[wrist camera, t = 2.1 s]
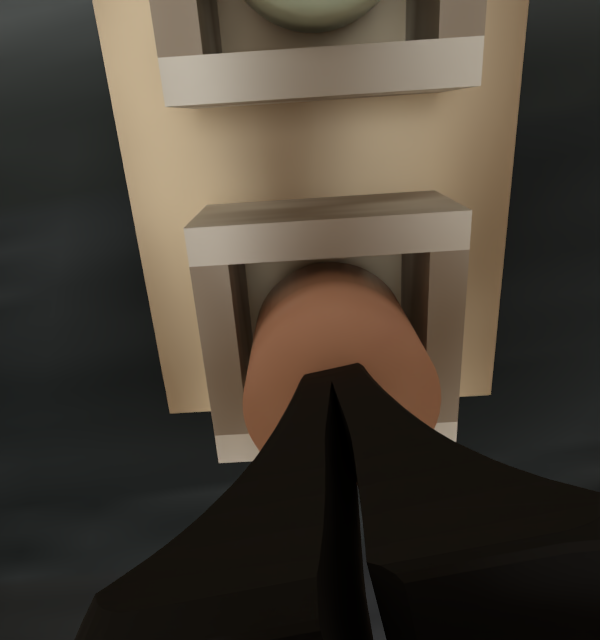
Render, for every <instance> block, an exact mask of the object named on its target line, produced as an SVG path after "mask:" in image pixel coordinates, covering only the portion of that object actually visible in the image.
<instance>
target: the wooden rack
mask: <svg viewBox="0 0 600 640" xmlns="http://www.w3.org/2000/svg"><path fill="white" fill-rule="evenodd" d="M92 1H93V6H94V11H95V17H96V22H97V27H98V33H99V38H100V43H101V49H102V54H103V59H104V65H105V70H106V75H107V81H108V86H109V91H110V97H111V102H112V107H113V113H114V118H115V123H116V129H117V134H118V139H119V145H120V150H121V155H122V160H123V166H124V171H125V176H126V182H127V187H128V192H129V198H130V203H131V208H132V214H133V219H134V224H135V230H136V235H137V240H138V246H139V251H140V256H141V262H142V267H143V272H144V278H145V283H146V288H147V294H148V299H149V304H150V310H151V315H152V320H153V326H154V331H155V336H156V342H157V347H158V352H159V358H160V363H161V368H162V374H163V379H164V384H165V390H166V395H167V400H168V406H169V411H170V413H187V412H204V411H211V415H212V421H213V428H214V434H215V441H216V448H217V454H218V461H219V463H229V462H247V461H253V460H254V459H255V457H256V456H257V455H258V453H259V452H260V451H259V450H258V448H257V447H256V445H255V444H254V442H253V441H252V439H251V437H250V435H249V433H248V430H247V427H246V424H245V420H244V415H243V392H244V386H245V381H246V375H247V370H248V365H249V359H250V354H251V348H252V343H253V338H254V332H255V327H256V322H257V317H258V314H259V310H260V308H261V306H262V303H263V302H264V300H265V298H266V296H267V295H268V294H269V292H270V291H271V290H272V288H273V287H274V286H275V285H276V284H277V283H278V282H279V281H281V280H282V279H283V278H285V277H286V276H287V275H289V274H291V273H292V272H294V271H296V270H298V269H300V268H303V267H306V266H309V265H313V264H316V263H324V262H340V263H348V264H351V265H355V266H358V267H361V268H363V269H366V270H368V271H369V272H371V273H373V274H374V275H376V276H377V277H378V278H380V279H381V280H382V281H383V282H384V283H385V284H386V285H387V286H388V287H389V288H390V289H391V291H392V292H393V293H394V295H395V296H396V298H397V300H398V302H399V304H400V305H401V307H402V309H403V311H404V312H405V314H406V316H407V318H408V320H409V321H410V323H411V325H412V327H413V329H414V330H415V332H416V334H417V336H418V337H419V339H420V341H421V343H422V345H423V346H424V348H425V350H426V352H427V354H428V355H429V357H430V359H431V361H432V363H433V365H434V367H435V369H436V372H437V375H438V378H439V382H440V387H441V407H440V413H439V417H438V420H437V424H436V426H435V428H434V430H436V431H437V432H439V433H441V434H442V435H444V436H446V437H447V438H449V439H451V440H453V441H454V442H456V437H457V422H458V408H459V397H463V396H481V395H491V386H492V376H493V366H494V355H495V345H496V335H497V325H498V314H499V304H500V294H501V283H502V273H503V263H504V253H505V242H506V232H507V222H508V212H509V201H510V191H511V181H512V170H513V160H514V150H515V140H516V129H517V119H518V109H519V99H520V88H521V78H522V68H523V57H524V47H525V37H526V27H527V16H528V6H529V0H380V1H379V2H378V3H377V4H376V5H375V6H374V7H373V8H372V9H371V10H370V11H369V12H367V13H366V14H365V15H364V16H362V17H361V18H359V19H358V20H356V21H354V22H353V23H351V24H348V25H346V26H344V27H342V28H339V29H335V30H332V31H328V32H321V33H303V32H297V31H292V30H289V29H285V28H282V27H280V26H278V25H276V24H274V23H272V22H270V21H268V20H267V19H265V18H264V17H262V16H261V15H259V14H258V13H257V12H256V11H255V10H253V9H252V8H251V7H250V6H249V5H248V4H247V3H246V2H245V1H244V0H92Z"/></svg>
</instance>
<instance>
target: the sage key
mask: <svg viewBox="0 0 600 640" xmlns="http://www.w3.org/2000/svg"><path fill="white" fill-rule="evenodd" d="M244 1H245V2H246V3H247V4H248V5H249V6H250V7H251V8H252V9H253V10H255V11H256V12H257V13H258V14H259V15H261V16H262V17H264V18H265V19H267V20H268V21H270V22H272V23H274V24H276V25H278V26H280V27H282V28H285V29H289V30H292V31H297V32H303V33H321V32H328V31H332V30H335V29H339V28H342V27H344V26H346V25H348V24H351V23H353V22H354V21H356V20H358V19H359V18H361V17H362V16H364V15H365V14H366V13H367V12H369V11H370V10H371V9H372V8H373V7H374V6H375V5H376V4H377V3H378V2H379V1H380V0H244Z"/></svg>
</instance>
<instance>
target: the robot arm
mask: <svg viewBox="0 0 600 640" xmlns="http://www.w3.org/2000/svg"><path fill="white" fill-rule="evenodd" d="M357 485H358V488H359V494H360V502H361V510H362V518H363V528H364V538H365V548H366V560H367V565H368V569H369V573H370V577H371V581H372V585H373V589H374V592H375V596H376V600H377V604H378V608H379V612H380V616H381V620H382V623H383V627H384V631H385V635H386V639H387V640H600V492H596V491H592V490H588V489H585V488H581V487H577V486H573V485H569V484H565V483H561V482H557V481H553V480H550V479H546V478H543V477H540V476H537V475H534V474H531V473H528V472H525V471H522V470H519V469H517V468H514V467H511V466H508V465H506V464H503V463H501V462H498V461H495V460H493V459H490V458H488V457H486V456H484V455H482V454H479V453H477V452H475V451H473V450H471V449H469V448H466V447H464V446H462V445H460V444H458V443H456V442H454V441H453V440H451V439H449V438H447V437H446V436H444V435H442V434H441V433H439V432H437V431H436V430H434V429H433V428H431V427H430V426H428V425H427V424H425V423H424V422H423V421H421V420H420V419H418V418H417V417H416V416H414V415H413V414H412V413H410V412H409V411H408V410H407V409H405V408H404V407H403V406H402V405H400V404H399V403H398V402H397V401H396V400H395V399H394V398H393V397H391V396H390V395H389V394H388V393H387V392H386V391H385V390H384V389H383V388H382V387H381V386H380V385H379V384H378V383H377V382H376V381H375V380H374V379H373V378H372V376H371V375H370V374H369V373H368V372H367V370H366V369H365V367H364V366H363V365H361V364H360V363H354V364H350V365H345V366H341V367H336V368H332V369H327V370H323V371H318V372H313V373H309V374H304V376H303V377H302V378H301V380H300V382H299V384H298V386H297V389H296V391H295V393H294V395H293V397H292V399H291V401H290V403H289V405H288V407H287V408H286V410H285V412H284V414H283V415H282V417H281V419H280V421H279V422H278V424H277V426H276V428H275V429H274V431H273V432H272V434H271V435H270V437H269V438H268V440H267V441H266V443H265V444H264V446H263V447H262V449H261V450H260V452H259V453H258V455H257V456H256V457H255V459H254V460H253V461H252V463H251V464H250V465H249V466H248V467H247V469H246V470H245V471H244V472H243V473H242V475H241V476H240V477H239V478H238V479H237V480H236V481H235V483H234V484H233V485H232V486H231V487H230V488H229V489H228V490H227V491H226V492H225V493H224V494H223V495H222V496H221V497H220V498H219V499H218V500H217V501H216V502H215V503H214V504H213V505H212V506H211V507H210V508H209V509H208V510H207V511H206V512H205V513H203V514H202V515H201V516H200V517H199V518H198V519H197V520H196V521H194V522H193V523H192V524H191V525H190V526H189V527H187V528H186V529H185V530H184V531H183V532H182V533H180V534H179V535H178V536H177V537H175V538H174V539H173V540H172V541H170V542H169V543H168V544H167V545H165V546H164V547H163V548H161V549H160V550H159V551H157V552H156V553H155V554H153V555H152V556H151V557H149V558H148V559H147V560H145V561H144V562H142V563H141V564H139V565H138V566H136V567H135V568H133V569H132V570H131V571H129V572H128V573H126V574H125V575H123V576H122V577H120V578H119V579H117V580H116V581H115V582H113V583H112V584H110V585H109V586H107V587H106V588H104V589H102V590H101V591H99V592H98V593H96V594H95V596H94V598H93V600H92V603H91V605H90V607H89V609H88V611H87V613H86V615H85V617H84V619H83V621H82V624H81V626H80V628H79V631H78V633H77V635H76V638H75V640H373V635H372V629H371V623H370V617H369V611H368V605H367V599H366V592H365V583H364V574H363V560H362V546H361V532H360V518H359V505H358V491H357Z"/></svg>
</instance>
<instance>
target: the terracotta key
mask: <svg viewBox="0 0 600 640" xmlns="http://www.w3.org/2000/svg"><path fill="white" fill-rule="evenodd" d="M354 363H360V364H361V365H363V366H364V367H365V369H366V370H367V372H368V373H369V374H370V375H371V376H372V378H373V379H374V380H375V381H376V382H377V383H378V384H379V385H380V386H381V387H382V388H383V389H384V390H385V391H386V392H387V393H388V394H389V395H390V396H391V397H393V398H394V399H395V400H396V401H397V402H398V403H399V404H400V405H402V406H403V407H404V408H405V409H407V410H408V411H409V412H410V413H412V414H413V415H414V416H416V417H417V418H418V419H420V420H421V421H423V422H424V423H425V424H427V425H428V426H430V427H431V428H433V429H434V428H435V426H436V424H437V420H438V417H439V413H440V407H441V387H440V382H439V378H438V375H437V372H436V369H435V367H434V365H433V363H432V361H431V359H430V357H429V355H428V354H427V352H426V350H425V348H424V346H423V345H422V343H421V341H420V339H419V337H418V336H417V334H416V332H415V330H414V329H413V327H412V325H411V323H410V321H409V320H408V318H407V316H406V314H405V312H404V311H403V309H402V307H401V305H400V304H399V302H398V300H397V298H396V296H395V295H394V293H393V292H392V291H391V289H390V288H389V287H388V286H387V285H386V284H385V283H384V282H383V281H382V280H381V279H380V278H378V277H377V276H376V275H374V274H373V273H371V272H369V271H368V270H366V269H363V268H361V267H358V266H355V265H351V264H348V263H340V262H324V263H316V264H313V265H309V266H306V267H303V268H300V269H298V270H296V271H294V272H292V273H291V274H289V275H287V276H286V277H285V278H283V279H282V280H281V281H279V282H278V283H277V284H276V285H275V286H274V287H273V288H272V290H271V291H270V292H269V294H268V295H267V296H266V298H265V300H264V302H263V303H262V306H261V308H260V310H259V314H258V317H257V322H256V327H255V332H254V338H253V343H252V348H251V354H250V359H249V365H248V370H247V375H246V381H245V386H244V392H243V415H244V420H245V424H246V427H247V430H248V433H249V435H250V437H251V439H252V441H253V442H254V444H255V445H256V447H257V448H258V450H259V451H260V450H261V449H262V447H263V446H264V444H265V443H266V441H267V440H268V438H269V437H270V435H271V434H272V432H273V431H274V429H275V428H276V426H277V424H278V422H279V421H280V419H281V417H282V415H283V414H284V412H285V410H286V408H287V407H288V405H289V403H290V401H291V399H292V397H293V395H294V393H295V391H296V389H297V386H298V384H299V382H300V380H301V378H302V377H303V376H304V374H309V373H313V372H318V371H323V370H327V369H332V368H336V367H341V366H345V365H350V364H354Z"/></svg>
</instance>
